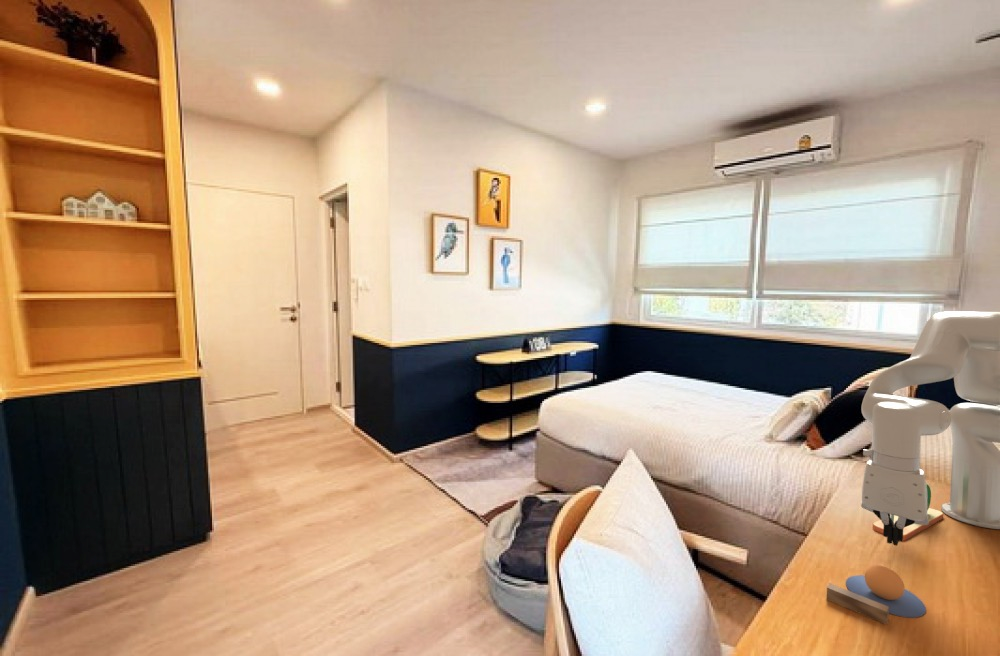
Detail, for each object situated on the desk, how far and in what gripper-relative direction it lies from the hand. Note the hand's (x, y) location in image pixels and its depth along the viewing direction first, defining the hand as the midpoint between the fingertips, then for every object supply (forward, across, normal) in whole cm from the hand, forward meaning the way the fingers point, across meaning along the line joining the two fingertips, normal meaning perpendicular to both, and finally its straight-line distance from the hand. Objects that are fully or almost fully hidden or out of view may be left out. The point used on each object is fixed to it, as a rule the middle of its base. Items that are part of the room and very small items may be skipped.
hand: (893, 541), depth 91 cm
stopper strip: (+7, -3, -19) cm, 20 cm away
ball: (+4, 0, -10) cm, 11 cm away
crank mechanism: (+9, 0, +32) cm, 33 cm away
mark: (+7, 0, -10) cm, 12 cm away
